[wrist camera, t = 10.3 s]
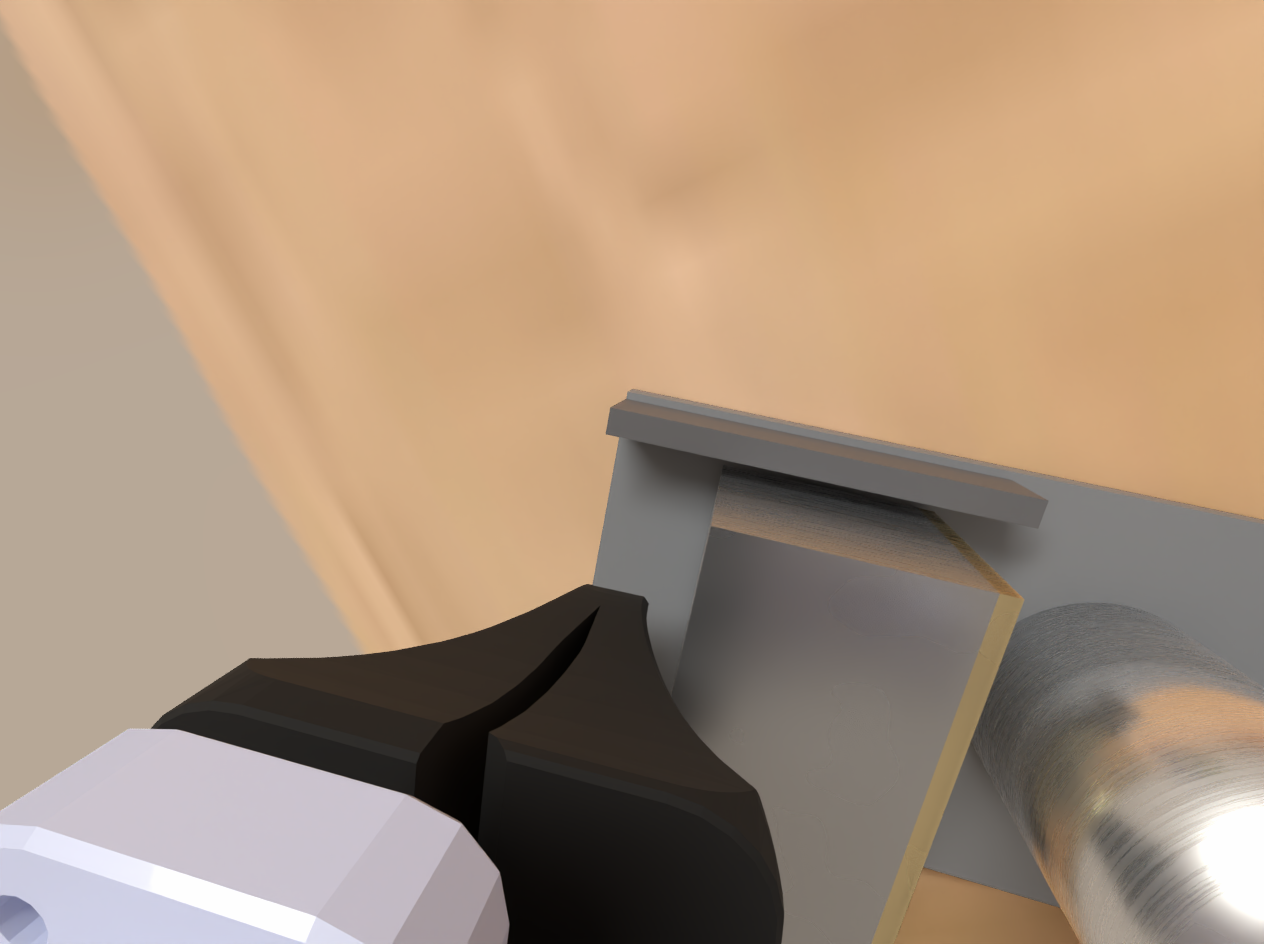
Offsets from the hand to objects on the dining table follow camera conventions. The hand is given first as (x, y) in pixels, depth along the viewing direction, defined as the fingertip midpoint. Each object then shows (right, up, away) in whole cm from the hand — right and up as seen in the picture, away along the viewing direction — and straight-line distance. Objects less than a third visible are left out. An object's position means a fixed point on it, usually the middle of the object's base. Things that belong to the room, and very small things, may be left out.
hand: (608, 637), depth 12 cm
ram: (+4, 0, +2) cm, 4 cm away
